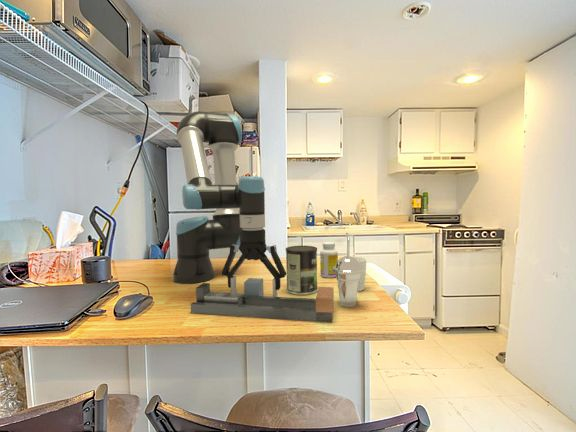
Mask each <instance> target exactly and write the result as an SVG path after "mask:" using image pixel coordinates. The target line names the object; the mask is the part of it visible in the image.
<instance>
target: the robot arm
mask: <svg viewBox="0 0 576 432" xmlns="http://www.w3.org/2000/svg"><path fill="white" fill-rule="evenodd" d="M242 129H243V128H242V124H241V121H240V119H239V117H238V116H236V115H235V114H228V113H221V112H220V113H219V112H208V111H200V110H199V111H193V112H190V113H188V114H186V115H185V116H184V117H183V118H182V119H181V120H180V121H179V123H178V125H177V128H176V138H177V142H178V144H179V145H181V152H182V157H183V165H184V169H185V176H186V182H187V184H183V186H182V188H181V189H182V191H181V192H182V193H181V195H182V204H183V208H184V209H186V210H197V211H199V210H210V209H211V210H212V209H213V210H214V209H215V211H214V213H213V214H212V219H209V217H208V216H207V215H203V216H195V217H190V218H184V219H181V220H179V221H178V222H177V223H176V229H175V230H176V231H175V235H176V250H177V251H176V254H177V255H176V256H177V261H176V264H175V268H174V270H173V281H174V282H176V283H178V284H196V283H197V284H198V283H205V282H207V281H210V280H212V279H214V278H215V273H216V272H215V269H214V268H215V267H214V265H213V263H212V261H211V258H210V257H211V256H210V250H218V249H219V250H220V249H229V254H228V256H227V259H226V261H225V263H224V266H223V268H222V270H221V276H225V277H226V278H227V287H228V288H229V289H230V293H238V292H237V275H235V273H236V272H237V271H238V270H239V268H240V267H241V266H242V264H243V263H244V262H245V260H247V261H260V262H261V263H263V265H264V267H266V269H267V270H268V272H269V273H270V274H271V276H273V279H272V297H278V291H279V290H280V289H281V279H283V278H285V277H287V270H286V269H285V267H284V265H283V262H282V260H281V258H280V256H279V254H278V252H277V245H275V244H273V245H267V244H266V229H265V227H266V211H265V208H266V207H265V206H266V204H265V202H266V201H265V199H266V198H265V197H266V196H265V191H266V188H265V180H264V177H262V176H254V175H253V176H241V177H239V178H238V184H237V168H236V155H235V154H236V153H235V151H237V149H239V145H240V144H241V143H242V140H243V130H242ZM203 143H208V148H209V150H211V152H212V159H213V175H214V176H213V177H214V184H213V181H212V177H211V173H210V169H209V168H210V167H209V165H208V160H207V156H206V152H205V147H204V144H203ZM238 251H239V252H240V253H241V255H240V256H239V258H238V260H237V261H236V263H235V264H234V265H233V266H232V264H233V262H234V259H235V257H236V254H237V253H238ZM266 252H268V253H269V254H270V256H271V258H272V260H273V262H274V264H275V266H274V265H273V263H272V262H271V261H270V259H269V258H268V256H267V255H266ZM231 266H232V268H231ZM230 268H231V269H230Z"/></svg>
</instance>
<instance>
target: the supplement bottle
mask: <svg viewBox="0 0 576 432" xmlns="http://www.w3.org/2000/svg"><path fill="white" fill-rule="evenodd" d="M335 247H336V243H335V242H333V241H325V242H324V241H323V242H322V248H321V250H320V254H319V257H320V259H319V260H320V261H319V262H320V276H321V277H322V278H327V279H328V278H329V279H330V278H331V279H332V278H336V272H334V271H333V267H334V266H336V263H337V261H338V260H339V258H338V256H339V255H338V253H339V252H338V250H337V249H336V248H335Z"/></svg>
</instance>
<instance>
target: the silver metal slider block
mask: <svg viewBox="0 0 576 432" xmlns="http://www.w3.org/2000/svg"><path fill="white" fill-rule="evenodd" d="M242 295H243V293H240V292H239V293H238V292H237V293H231V292H219V291H218V292H217V291H211V283H210V282H208V283H207V282H202V283H200V285H198V286H197V287H195V296H196V297H195V298H196V301H195V302H201V303H217V304H234V305H243V301H242Z"/></svg>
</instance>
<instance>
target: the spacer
mask: <svg viewBox="0 0 576 432" xmlns="http://www.w3.org/2000/svg"><path fill="white" fill-rule="evenodd" d="M243 288H244V289H243V291H244V293H243V295H253V296H265V295H264V294H265V293H264V278H263V277H262V278H261V277H260V278H259V277H258V278H257V277H249V278H247V279H246V280H245V281H244V282H243Z"/></svg>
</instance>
